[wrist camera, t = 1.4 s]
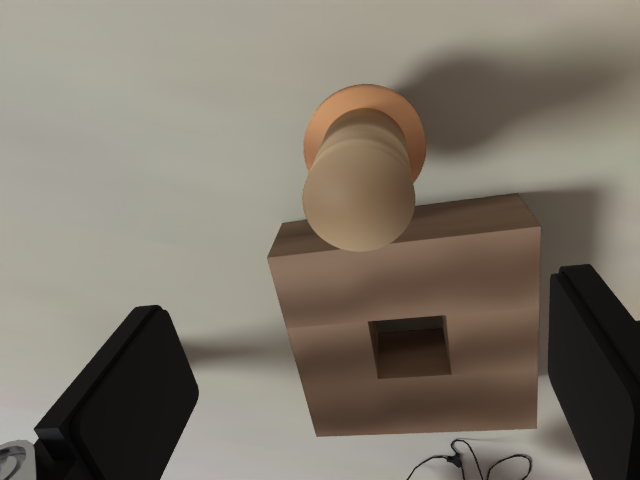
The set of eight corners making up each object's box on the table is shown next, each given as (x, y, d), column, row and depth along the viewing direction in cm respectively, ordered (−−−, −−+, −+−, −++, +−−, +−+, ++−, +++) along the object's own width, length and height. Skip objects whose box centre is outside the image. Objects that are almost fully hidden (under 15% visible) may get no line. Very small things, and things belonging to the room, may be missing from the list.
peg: (307, 82, 28) (260, 135, 17) (412, 62, 27) (434, 106, 16) (326, 179, 31) (296, 279, 20) (423, 165, 30) (447, 264, 19)
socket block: (282, 223, 33) (267, 257, 29) (517, 193, 30) (540, 226, 26) (323, 388, 40) (316, 436, 36) (518, 377, 37) (536, 428, 33)
